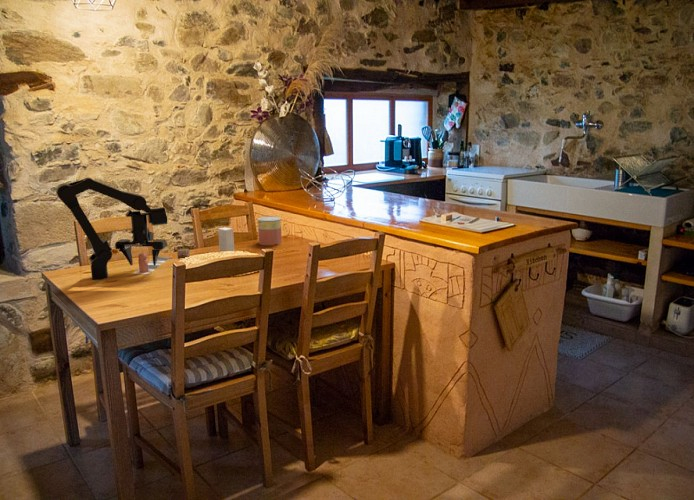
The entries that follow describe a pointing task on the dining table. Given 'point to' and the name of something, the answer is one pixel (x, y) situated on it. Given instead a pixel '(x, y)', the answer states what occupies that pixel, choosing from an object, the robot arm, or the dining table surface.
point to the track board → (151, 266)
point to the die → (183, 253)
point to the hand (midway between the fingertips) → (143, 265)
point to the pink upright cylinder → (143, 263)
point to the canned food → (269, 230)
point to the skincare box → (226, 239)
